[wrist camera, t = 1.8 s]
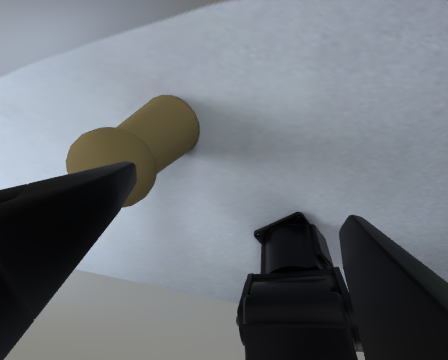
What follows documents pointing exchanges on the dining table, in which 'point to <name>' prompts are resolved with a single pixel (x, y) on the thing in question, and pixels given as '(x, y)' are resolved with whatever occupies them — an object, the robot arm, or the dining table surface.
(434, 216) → the dining table surface
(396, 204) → the dining table surface
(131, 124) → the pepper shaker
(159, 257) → the dining table surface
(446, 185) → the dining table surface
